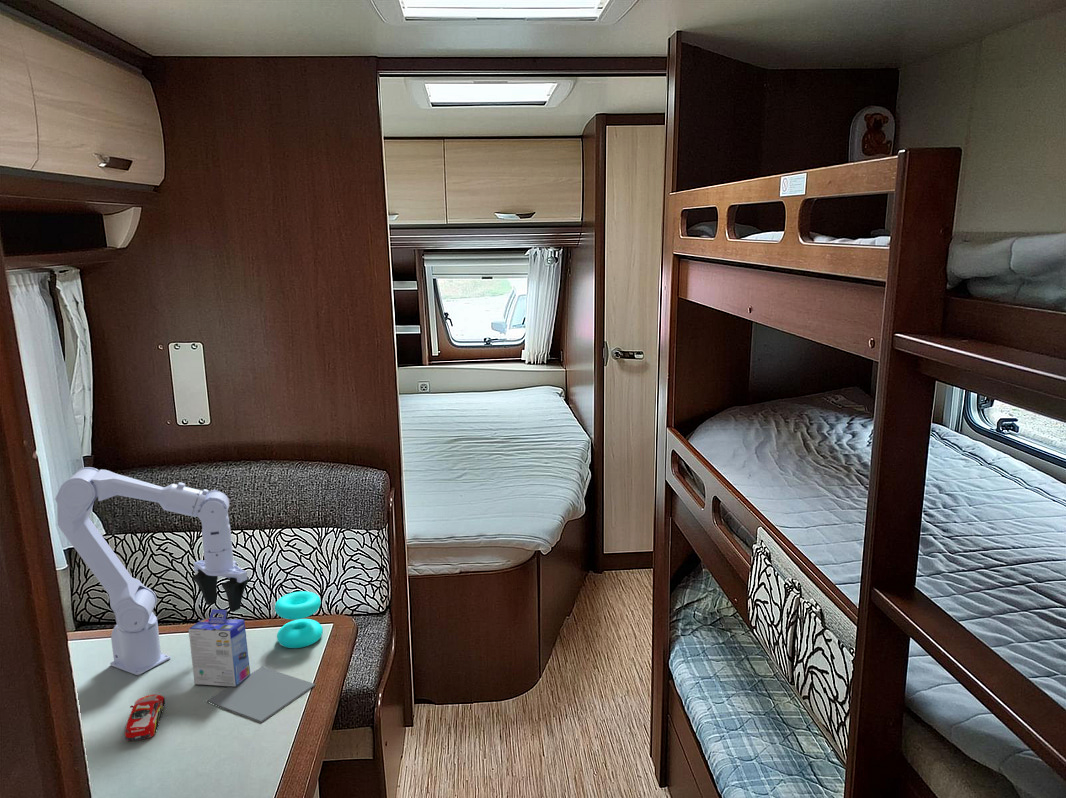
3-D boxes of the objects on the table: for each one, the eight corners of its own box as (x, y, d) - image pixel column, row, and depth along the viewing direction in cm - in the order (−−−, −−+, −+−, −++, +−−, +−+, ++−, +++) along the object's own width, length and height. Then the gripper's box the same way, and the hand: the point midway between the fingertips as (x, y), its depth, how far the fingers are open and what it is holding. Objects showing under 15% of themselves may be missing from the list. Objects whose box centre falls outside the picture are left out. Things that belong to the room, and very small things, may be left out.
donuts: (311, 608, 164) (266, 608, 165) (314, 651, 166) (270, 650, 167) (326, 589, 174) (284, 588, 175) (329, 629, 176) (287, 628, 176)
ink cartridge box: (252, 673, 156) (244, 608, 154) (237, 687, 151) (228, 620, 149) (210, 671, 158) (201, 606, 156) (193, 685, 153) (184, 618, 151)
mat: (206, 702, 147) (206, 700, 147) (262, 668, 159) (262, 666, 159) (261, 722, 140) (261, 720, 140) (315, 685, 152) (315, 683, 152)
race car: (137, 706, 146) (135, 687, 146) (168, 701, 148) (166, 683, 147) (120, 747, 134) (118, 726, 133) (154, 741, 135) (152, 721, 135)
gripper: (256, 546, 163) (261, 605, 165) (210, 536, 169) (216, 593, 172) (229, 558, 156) (235, 618, 159) (183, 547, 163) (189, 605, 166)
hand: (223, 606), depth 165 cm, fingers open, 7 cm apart
